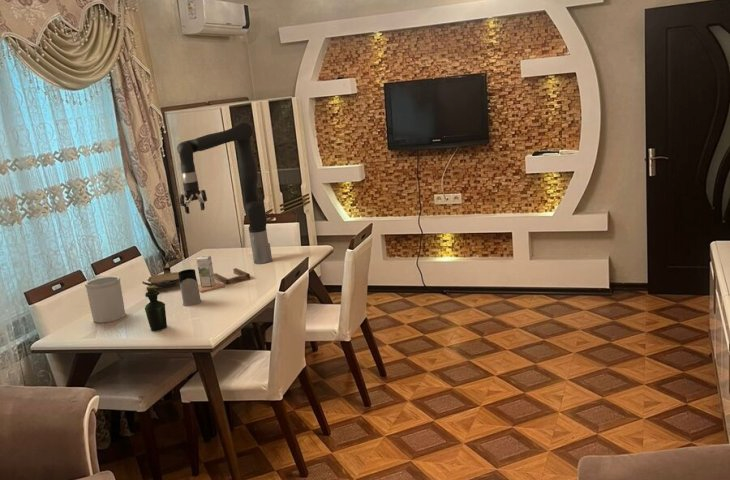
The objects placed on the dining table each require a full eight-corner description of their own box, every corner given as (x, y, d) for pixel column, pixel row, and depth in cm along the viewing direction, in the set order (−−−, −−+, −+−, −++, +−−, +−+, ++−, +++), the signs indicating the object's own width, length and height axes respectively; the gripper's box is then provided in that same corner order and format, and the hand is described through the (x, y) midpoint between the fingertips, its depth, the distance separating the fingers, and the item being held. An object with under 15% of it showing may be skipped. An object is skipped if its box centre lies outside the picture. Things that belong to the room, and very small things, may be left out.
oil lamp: (135, 295, 353) (132, 280, 351) (162, 277, 382) (159, 263, 380) (177, 292, 349) (175, 277, 347) (201, 274, 377) (198, 260, 376)
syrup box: (215, 283, 353) (211, 254, 349) (212, 286, 347) (207, 257, 344) (204, 284, 353) (199, 255, 350) (200, 287, 347) (195, 258, 344)
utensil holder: (115, 310, 330) (108, 274, 326) (133, 314, 321) (126, 276, 317) (86, 321, 319) (78, 283, 315) (104, 325, 310) (96, 286, 306)
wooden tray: (236, 272, 372) (235, 268, 371) (250, 278, 357) (249, 274, 356) (213, 278, 366) (212, 273, 365) (226, 285, 351) (225, 280, 350)
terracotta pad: (216, 282, 358) (215, 280, 358) (224, 286, 348) (224, 284, 348) (193, 288, 352) (192, 286, 352) (201, 292, 342) (200, 290, 342)
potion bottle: (171, 323, 300) (163, 282, 296) (166, 330, 293) (158, 288, 289) (151, 326, 300) (143, 285, 296) (146, 333, 292) (138, 291, 288)
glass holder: (182, 307, 322) (176, 275, 319) (181, 299, 335) (176, 268, 332) (202, 303, 324) (196, 271, 321) (200, 295, 337) (195, 265, 334)
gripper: (181, 183, 361) (186, 215, 364) (206, 178, 370) (211, 209, 373) (174, 183, 366) (179, 214, 370) (198, 178, 375) (203, 208, 379)
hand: (195, 211), depth 372 cm, fingers open, 8 cm apart
